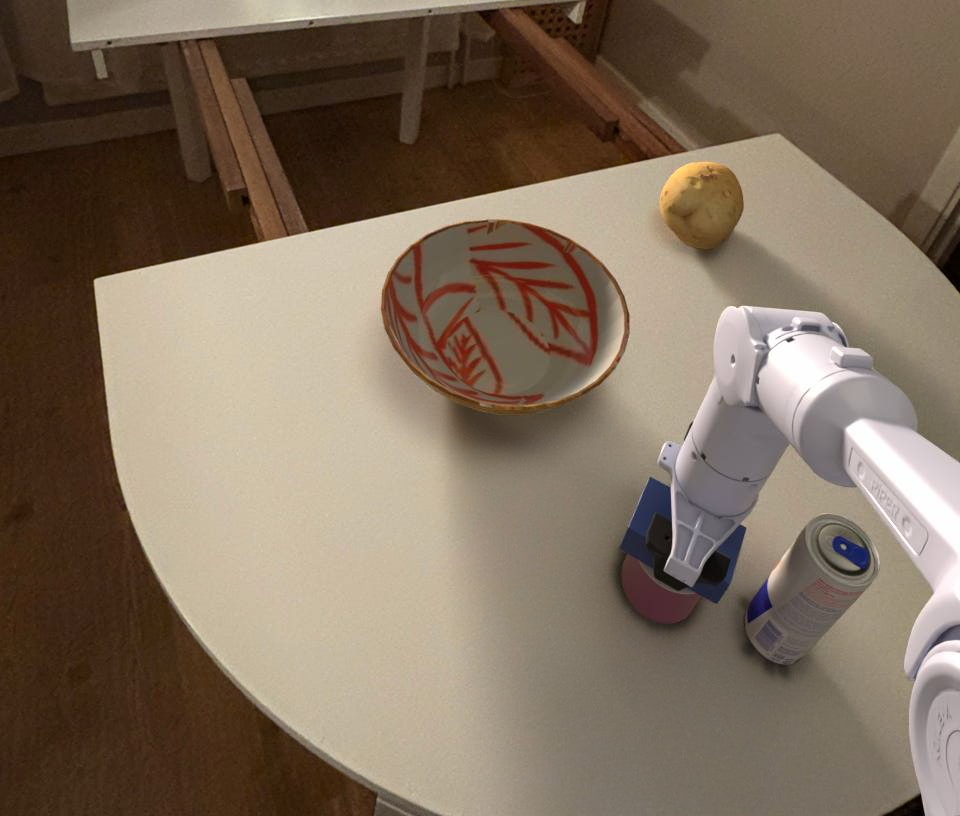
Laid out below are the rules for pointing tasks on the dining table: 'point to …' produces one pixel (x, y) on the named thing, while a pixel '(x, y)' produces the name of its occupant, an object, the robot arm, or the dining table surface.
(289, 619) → the dining table surface
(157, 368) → the dining table surface
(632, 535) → the block
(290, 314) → the dining table surface
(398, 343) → the bowl
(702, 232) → the potato
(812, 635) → the beverage can
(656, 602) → the yogurt
